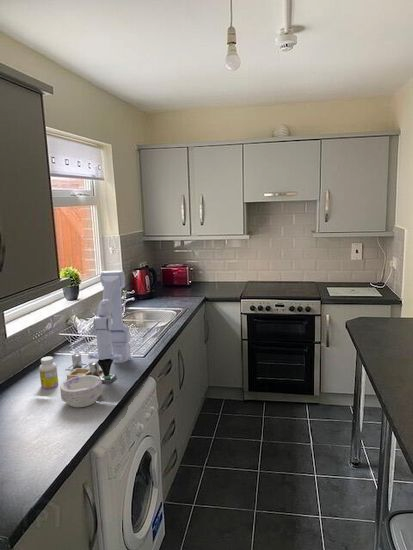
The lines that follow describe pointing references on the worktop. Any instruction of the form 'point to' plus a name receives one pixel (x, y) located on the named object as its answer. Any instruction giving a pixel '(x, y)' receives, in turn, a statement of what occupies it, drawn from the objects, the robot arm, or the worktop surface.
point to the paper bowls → (81, 390)
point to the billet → (76, 361)
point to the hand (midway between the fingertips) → (106, 375)
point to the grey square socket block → (106, 380)
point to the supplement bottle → (48, 373)
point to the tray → (74, 369)
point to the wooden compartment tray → (81, 373)
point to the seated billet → (94, 369)
